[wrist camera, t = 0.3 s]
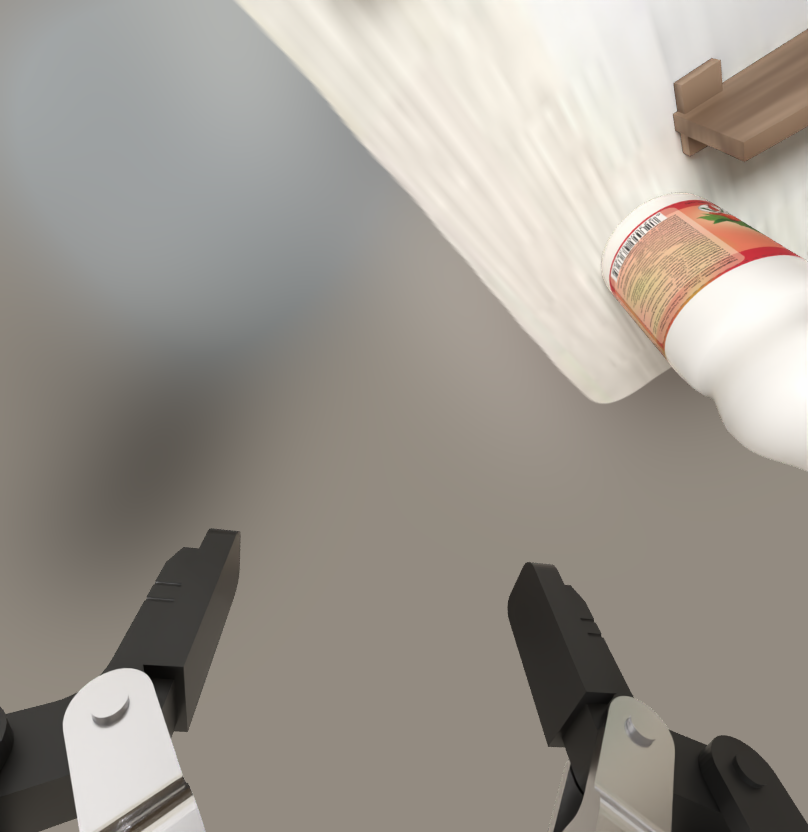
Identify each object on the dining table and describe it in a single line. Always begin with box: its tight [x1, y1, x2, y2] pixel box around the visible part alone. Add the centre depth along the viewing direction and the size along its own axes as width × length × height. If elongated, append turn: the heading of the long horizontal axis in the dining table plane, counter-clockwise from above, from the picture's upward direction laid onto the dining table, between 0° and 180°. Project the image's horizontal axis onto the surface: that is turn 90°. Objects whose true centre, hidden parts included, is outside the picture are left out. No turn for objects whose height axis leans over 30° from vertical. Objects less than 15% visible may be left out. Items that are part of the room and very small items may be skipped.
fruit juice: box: [601, 193, 808, 472], centre depth 28 cm, size 9×9×28 cm
